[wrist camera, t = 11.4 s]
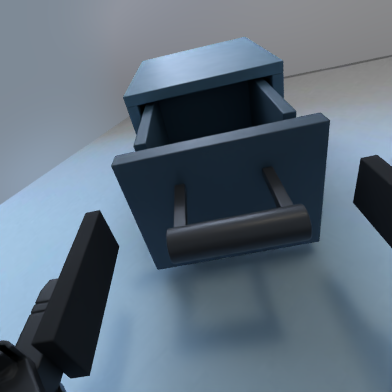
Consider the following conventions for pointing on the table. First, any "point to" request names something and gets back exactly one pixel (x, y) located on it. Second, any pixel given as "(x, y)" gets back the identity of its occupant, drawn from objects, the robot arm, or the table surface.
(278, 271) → the table surface
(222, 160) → the drawer
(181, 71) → the dark blue box
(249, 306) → the table surface
